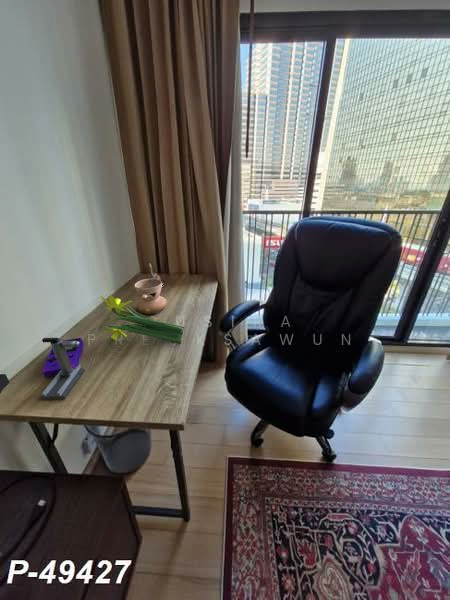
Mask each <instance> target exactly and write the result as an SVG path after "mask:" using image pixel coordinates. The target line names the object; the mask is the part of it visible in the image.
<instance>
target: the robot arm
mask: <svg viewBox="0 0 450 600" xmlns="http://www.w3.org/2000/svg"><path fill="white" fill-rule="evenodd" d="M10 383H11V381H10V380H9V378H8V375H7V374H6V373H0V395H1V394H2V392H3V390H5V388H6V387H7V386H8V385H9V384H10Z"/></svg>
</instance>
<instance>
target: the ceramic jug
mask: <svg viewBox="0 0 450 600" xmlns="http://www.w3.org/2000/svg"><path fill="white" fill-rule="evenodd" d="M162 285H163V282H162V280H161V279H160V280H159V279H153V278H150V279H147V278H145V279H141V280H139V281H137V282H136V283H134V289H135V291H136V293H137V294H138V295H139V297H140V298H139V300H138V301H137V302H136V304H135V307H136V309H137V311H138V313H140V314H145V315H152V314H153V315H154V314H157V313H160V312H162V311H164V310H165V309H166V307H167V306H168V301H167V299H166V298H165V297H164V296H161V295H160V294H161V291H162V287H163V286H162Z"/></svg>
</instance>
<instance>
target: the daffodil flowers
mask: <svg viewBox="0 0 450 600" xmlns="http://www.w3.org/2000/svg"><path fill="white" fill-rule="evenodd" d="M99 297H100V298H101V301H103V302H104V303H105V304H107V306H106V307H105V309H106V310H108V311H112V313H113V314H114V315H117V316H118V317H115V318H114V319H112V322H114V321H116V320H122V321H127V323H125V324H122V325H117V324H104V329H108V330H104V331H103V333H104V334H105V333H107V334H108V333H112V335H111V336H110V339H112V340H114V341H118V339H119V337H121V336H123V337H124V338H126V340H127V341H128V342H130V340H129V339H128V335H127V334H130V333H135V334H138V335H144V336H147V337H150V338H151V337H152V338H155V339H159V340H164V341H168V342H172V343H176V344H181V342H182V340H181V338H182V336H183V334H184V333H183V332H185V330H184V329H185V326H183V325H179V324H175V323H169V322H165V321H160V320H154V319H153V318H149V317H147V316H145V315H143V314H142V313H140V312H137V311H135V310H134V308H132V307H131V306H130V303H131V302H132V300H128V301H125V302H121V301H122V300H121V299H120V298H118V297H114V296H113V295H112V294H111V293H110V294H109V297H108V299H106V298H105V297H103V296H99ZM127 305H128V307H129V308H130V309H129V308H128V307H127ZM124 307H125V308H126V309H125V308H124ZM123 312H129V313H130V314H127V313H123ZM131 314H132V315H131ZM128 322H129V323H128ZM124 331H126V332H125V333H124Z"/></svg>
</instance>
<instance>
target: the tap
mask: <svg viewBox="0 0 450 600" xmlns="http://www.w3.org/2000/svg"><path fill="white" fill-rule="evenodd" d="M41 341H42V343H49V344H50V346H51V349H53V351H54V354H55V356H56V359H57V361H58V364H59V366H60V369H61V371H62V374H61V376H62V377H69V376H70V375H71V374H72V372H73V371H74V370H75V369H74V368H72V366H71V363H70V360H69V358H68V355H67V352H66V350H65V347H77V346H79V344H80V343H79V342H78V341H63V340H62V338H59V337H43V338H42V339H41Z"/></svg>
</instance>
